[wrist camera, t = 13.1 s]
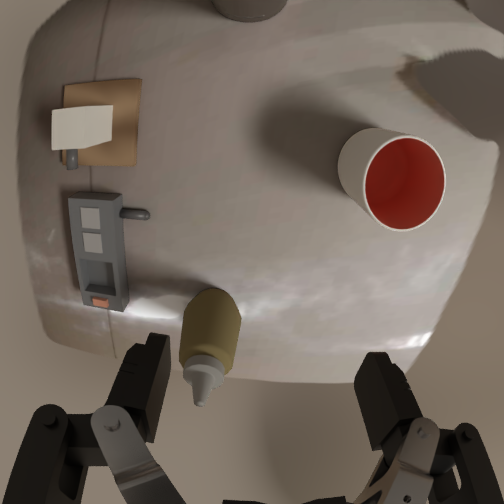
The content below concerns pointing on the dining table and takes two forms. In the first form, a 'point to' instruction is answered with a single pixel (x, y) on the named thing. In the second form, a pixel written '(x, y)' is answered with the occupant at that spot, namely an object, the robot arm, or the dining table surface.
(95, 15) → the dining table surface
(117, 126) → the walnut board
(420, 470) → the robot arm
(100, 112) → the block
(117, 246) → the power strip
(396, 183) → the cup
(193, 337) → the squeeze bottle
